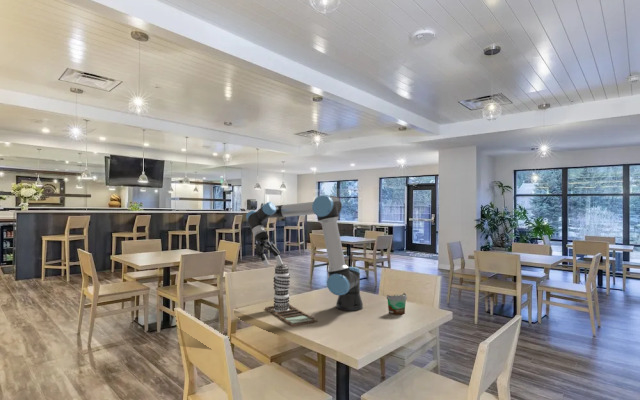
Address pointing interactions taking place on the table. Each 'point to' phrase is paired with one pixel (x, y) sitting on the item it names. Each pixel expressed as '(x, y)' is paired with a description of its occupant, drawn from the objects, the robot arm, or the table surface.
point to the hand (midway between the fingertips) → (274, 265)
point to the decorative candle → (281, 288)
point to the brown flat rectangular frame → (293, 316)
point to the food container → (397, 304)
